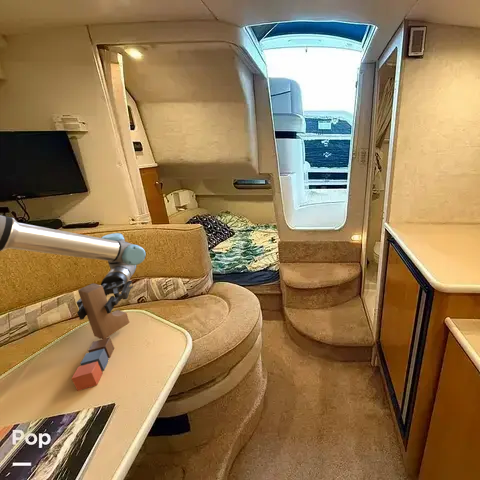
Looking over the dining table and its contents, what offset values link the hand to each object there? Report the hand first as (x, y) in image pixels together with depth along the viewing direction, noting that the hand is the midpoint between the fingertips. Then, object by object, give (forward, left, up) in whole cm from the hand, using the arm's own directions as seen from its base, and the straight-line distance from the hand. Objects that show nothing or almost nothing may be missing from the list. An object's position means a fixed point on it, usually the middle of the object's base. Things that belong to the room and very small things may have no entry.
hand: (94, 312), depth 83 cm
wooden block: (-1, +5, -10) cm, 12 cm away
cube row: (+3, -9, -13) cm, 16 cm away
